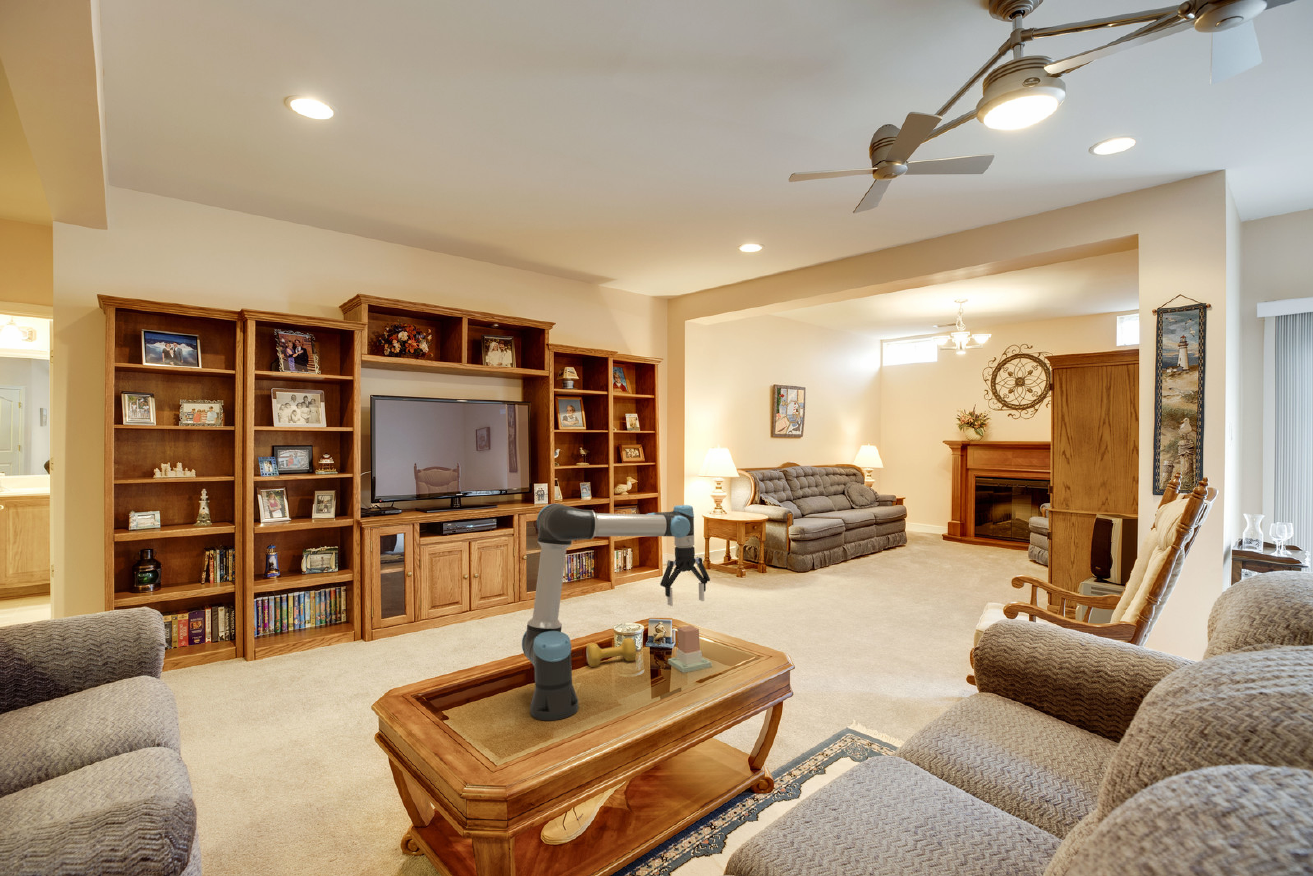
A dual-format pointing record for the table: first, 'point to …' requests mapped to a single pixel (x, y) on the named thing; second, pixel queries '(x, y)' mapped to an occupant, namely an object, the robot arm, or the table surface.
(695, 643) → the top brick
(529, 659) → the robot arm
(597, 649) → the dumbbell
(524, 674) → the table surface
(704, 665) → the tower base
